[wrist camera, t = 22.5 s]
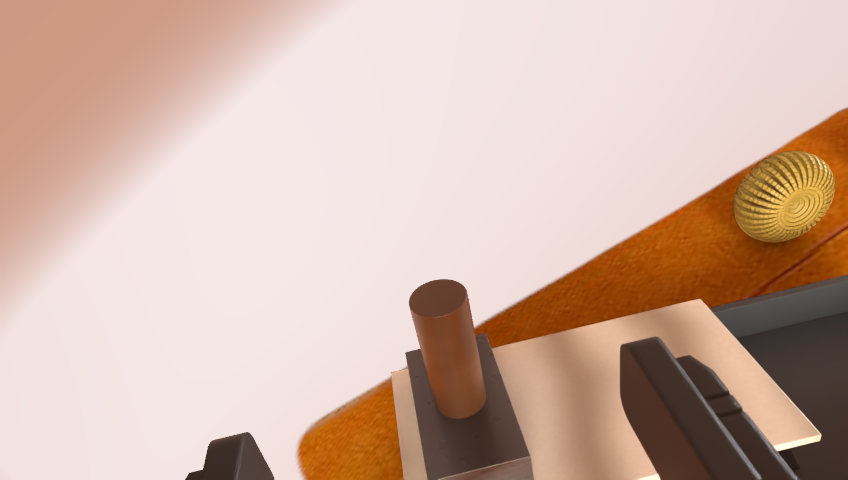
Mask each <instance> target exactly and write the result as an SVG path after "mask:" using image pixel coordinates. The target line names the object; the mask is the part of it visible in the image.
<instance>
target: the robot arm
mask: <svg viewBox="0 0 848 480" xmlns="http://www.w3.org/2000/svg"><path fill="white" fill-rule="evenodd" d="M620 397H621V402H622V406H623V409H624V412H625V415H626V417H627V419H628V421H629V423H630V425H631V427H632V429H633V430H634V432H635V434H636V436H637V438H638V439H639V441H640V443H641V445H642V447H643V448H644V450H645V452H646V454H647V456H648V457H649V459H650V461H651V463H652V465H653V466H654V468H655V470H656V472H657V474H658V475H659V477H660V479H661V480H800V479H799V478H798V477H797V476H796V475H795V474H794V472H793V471H792V470H791V469H790V467H789V466H788V465H787V463H786V462H785V461H784V460H783V458H782V457H781V456H780V455H779V453H778V452H777V451H776V449H775V448H774V447H773V446H772V444H771V443H770V442H769V441H768V439H767V438H766V437H765V435H764V434H763V433H762V432H761V430H760V429H759V428H758V427H757V425H756V424H755V423H754V421H753V420H752V419H751V418H750V416H749V415H748V414H747V413H746V412H744V411H743V408H742V406H741V405H740V404H739V402H738V401H737V400H736V399H735V397H734V396H733V395H731V394H730V392H729V390H728V388H727V387H726V386H725V385H724V383H723V382H722V381H721V379H720V378H719V377H718V376H717V374H716V373H715V372H714V371H713V370H712V369H711V368H709V367H708V366H706V365H704V364H703V363H701V362H700V361H698V360H697V359H695V358H694V357H692V356H691V355H687V356H682V357H678V358H675V357H674V356H673V354H672V353H671V352H670V350H669V349H668V348H667V346H666V345H665V343H664V342H663V341H662V340H661V339H660V338H659V337H657V336H654V337H650V338H646V339H642V340H637V341H633V342H629V343H625V344H622V345H621V347H620ZM185 480H274V477H273V474H272V472H271V470H270V468H269V467H268V465H267V463H266V461H265V460H264V457H263V455H262V453H261V452H260V450H259V448H258V446H257V444H256V442H255V440H254V439H253V437H252V436H251V434H250V433H248V432H246V433H242V434H237V435H233V436H229V437H225V438H221V439H217V440H213V441H212V442H210V444H209V446H208V450H207V454H206V459H205V464H204V468H203V470H200V471H196V472H192V473H189V474H188V476H187V478H186V479H185Z"/></svg>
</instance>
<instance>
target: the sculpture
mask: <svg viewBox="0 0 848 480" xmlns="http://www.w3.org/2000/svg"><path fill="white" fill-rule="evenodd" d="M749 172H750V174H751V175H752V176H753V177H752V176H750V175H748V174H746V175H745V176H744V177H745V178H747V179H748V180H746V179H742V180H741V182H740V184H741V185H739V186H738V187H737V192H736V193H735V195H734V199H733V212H734V217H735V219H736V222H737V224H738V226H739V227H740V228H741V230H743V231H744V232H745V233H747V235H749V236H750V237H752V238H754V239H756V240H759V241H764V242H771V243H772V242H782V241H788V240H791V239H793V238H796V237H798V236H800V235H802V234H804V233H805V232H807V231H809V230H810V229H811V227H814V226H815V225H816V222H815V221H814V220H816V221H818V222H819V221H820V220H821V218H819V217H818V216H821V217H823V216H824V215H825V214H826V211H827V210H828V209H829V207H830V204H831V203H832V199H833V197H834V196H833V195H834V191H835V184H834V182H835V181H834V178H833V173H832V171H831V169H830V168H829V167H828V165H827V164H826V163H825V162H824V161H823V160H822V159H821V158H819V157H817V156H815V155H813V154H811V153H808V152H807V153H806V152H803V151H786V152H781V153H778V154H774V155H772V156H769V157H768V158H765V159H764V160H762V161H761V162H760V163H758V164H756V165H755V167H754V168H752V169H751V170H750V171H749ZM814 177H815V178H814ZM755 178H756V179H755ZM787 192H788V193H787ZM749 210H750V211H749ZM812 218H813V219H814V220H813V219H812Z"/></svg>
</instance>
